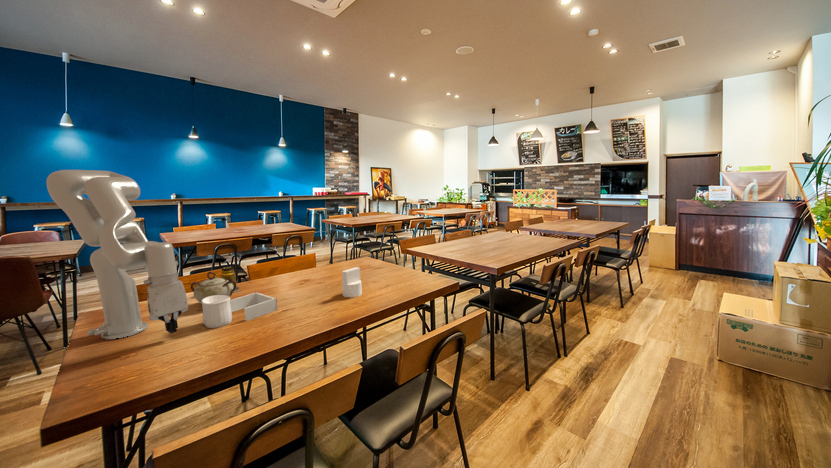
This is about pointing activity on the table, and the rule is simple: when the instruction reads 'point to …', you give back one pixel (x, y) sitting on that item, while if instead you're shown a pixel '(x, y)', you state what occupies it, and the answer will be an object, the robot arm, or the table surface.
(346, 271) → the base with upright slab
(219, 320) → the cup
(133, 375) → the table surface
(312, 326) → the table surface
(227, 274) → the condiment
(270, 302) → the box
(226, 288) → the sugar bowl
